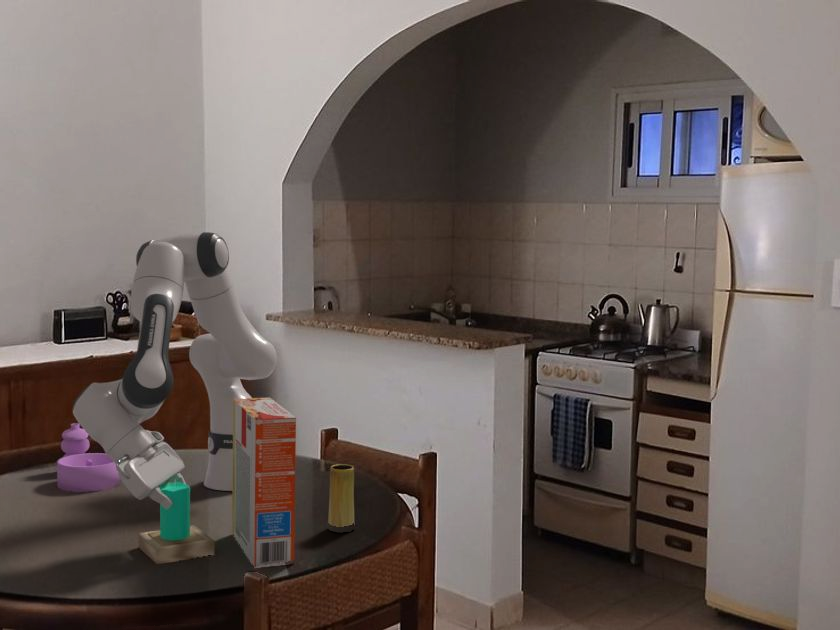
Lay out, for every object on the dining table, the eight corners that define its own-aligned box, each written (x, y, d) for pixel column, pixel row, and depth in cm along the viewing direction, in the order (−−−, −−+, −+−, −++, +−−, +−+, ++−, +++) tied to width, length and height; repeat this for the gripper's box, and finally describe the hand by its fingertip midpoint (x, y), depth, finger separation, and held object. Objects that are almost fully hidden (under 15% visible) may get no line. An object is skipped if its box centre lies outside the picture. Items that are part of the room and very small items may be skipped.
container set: (127, 487, 258) (127, 436, 256) (65, 495, 250) (64, 442, 248) (100, 466, 279) (100, 419, 277) (42, 472, 271) (42, 424, 269)
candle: (161, 531, 212) (161, 475, 211) (191, 531, 213) (191, 475, 212) (158, 540, 206) (158, 482, 205) (188, 540, 207) (188, 482, 206)
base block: (193, 538, 218) (194, 524, 218) (214, 554, 208) (214, 539, 208) (138, 547, 212) (138, 532, 212) (156, 564, 202) (156, 548, 201)
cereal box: (294, 564, 204) (296, 417, 201) (254, 568, 201) (255, 419, 198) (268, 531, 225) (269, 397, 222) (232, 534, 222) (233, 399, 219)
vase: (358, 527, 229) (360, 465, 228) (348, 535, 223) (349, 471, 222) (334, 524, 231) (335, 462, 230) (323, 531, 225) (323, 468, 224)
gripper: (122, 452, 198) (170, 503, 198) (162, 430, 219) (206, 477, 218) (101, 473, 199) (148, 524, 199) (142, 449, 220) (186, 496, 219)
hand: (179, 499), depth 209 cm, fingers open, 8 cm apart
